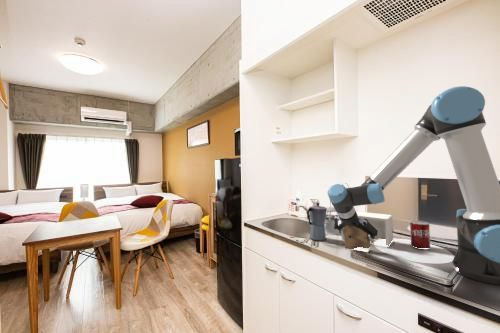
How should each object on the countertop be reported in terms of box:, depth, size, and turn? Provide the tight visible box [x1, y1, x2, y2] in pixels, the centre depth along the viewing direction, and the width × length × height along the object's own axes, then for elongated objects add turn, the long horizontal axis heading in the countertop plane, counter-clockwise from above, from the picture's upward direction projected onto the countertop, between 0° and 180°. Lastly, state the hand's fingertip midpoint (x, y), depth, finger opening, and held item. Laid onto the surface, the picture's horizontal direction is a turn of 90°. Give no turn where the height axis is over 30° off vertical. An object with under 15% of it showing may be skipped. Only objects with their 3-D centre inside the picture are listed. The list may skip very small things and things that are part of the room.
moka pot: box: [306, 202, 327, 242], centre depth 120 cm, size 10×15×20 cm, turn 129°
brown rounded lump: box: [344, 225, 371, 250], centre depth 103 cm, size 10×5×12 cm, turn 47°
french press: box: [324, 200, 341, 236], centre depth 132 cm, size 10×12×25 cm
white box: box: [340, 210, 394, 246], centre depth 114 cm, size 22×11×14 cm, turn 47°
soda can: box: [409, 220, 431, 249], centre depth 102 cm, size 7×7×12 cm
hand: (358, 238), depth 105 cm, fingers open, 12 cm apart
